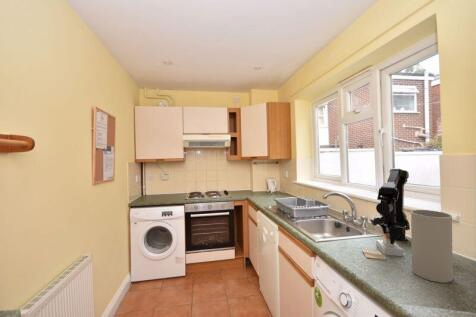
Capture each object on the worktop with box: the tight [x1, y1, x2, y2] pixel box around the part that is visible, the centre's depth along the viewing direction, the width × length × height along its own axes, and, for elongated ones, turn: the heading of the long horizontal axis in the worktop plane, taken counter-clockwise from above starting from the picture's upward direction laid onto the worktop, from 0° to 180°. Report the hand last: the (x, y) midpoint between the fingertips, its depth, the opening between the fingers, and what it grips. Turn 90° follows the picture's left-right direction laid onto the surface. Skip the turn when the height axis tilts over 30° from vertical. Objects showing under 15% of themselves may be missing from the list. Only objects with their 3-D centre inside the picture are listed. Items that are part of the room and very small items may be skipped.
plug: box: [382, 232, 396, 247], centre depth 115 cm, size 4×4×8 cm
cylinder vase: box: [410, 209, 454, 284], centre depth 91 cm, size 12×12×25 cm
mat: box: [361, 250, 387, 261], centre depth 110 cm, size 8×8×1 cm
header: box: [375, 239, 404, 257], centre depth 116 cm, size 12×8×3 cm, turn 166°
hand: (388, 241), depth 115 cm, fingers open, 7 cm apart
